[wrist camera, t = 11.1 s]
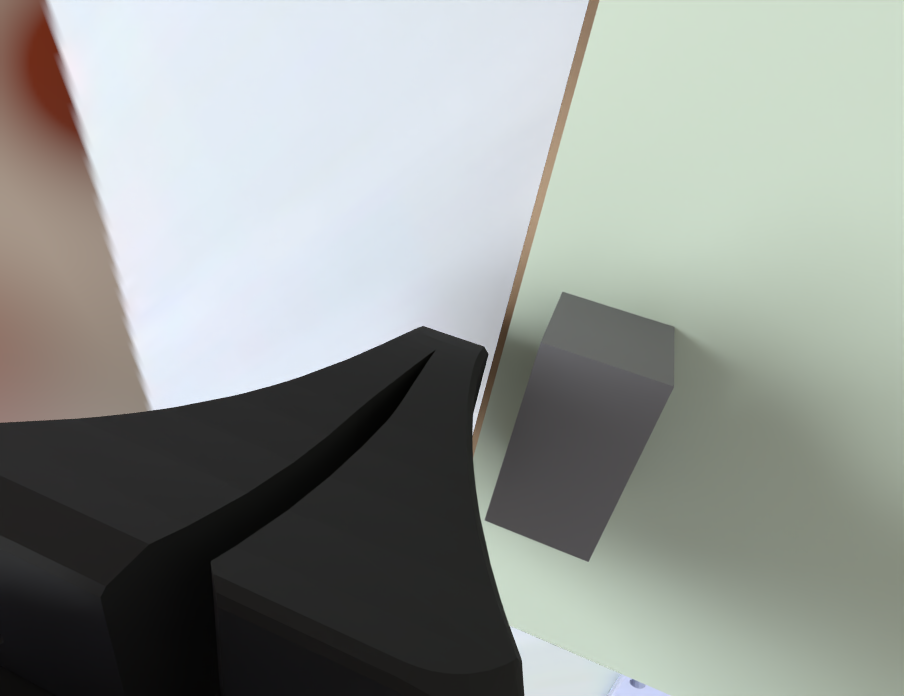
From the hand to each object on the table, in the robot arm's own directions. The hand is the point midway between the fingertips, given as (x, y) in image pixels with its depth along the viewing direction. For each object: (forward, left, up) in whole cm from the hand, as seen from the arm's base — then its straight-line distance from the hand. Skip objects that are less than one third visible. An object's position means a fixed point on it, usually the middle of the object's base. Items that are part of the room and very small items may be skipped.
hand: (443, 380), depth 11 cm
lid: (0, -6, -2) cm, 6 cm away
